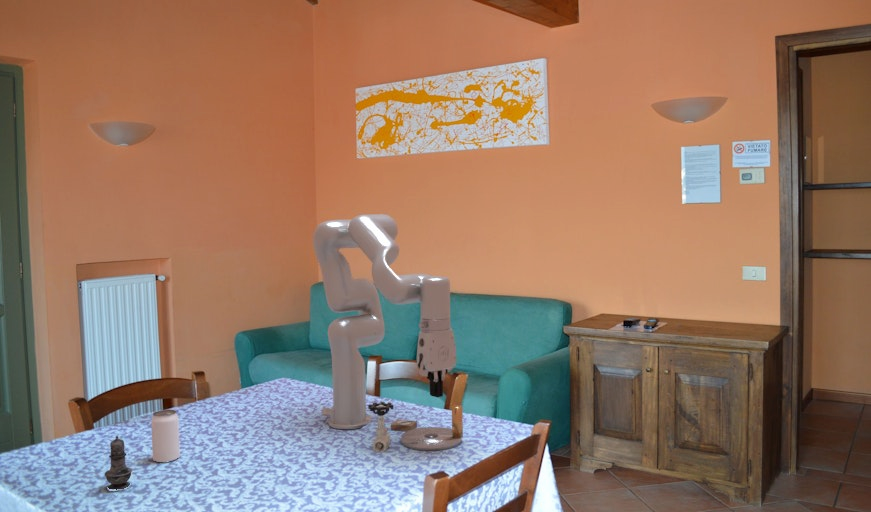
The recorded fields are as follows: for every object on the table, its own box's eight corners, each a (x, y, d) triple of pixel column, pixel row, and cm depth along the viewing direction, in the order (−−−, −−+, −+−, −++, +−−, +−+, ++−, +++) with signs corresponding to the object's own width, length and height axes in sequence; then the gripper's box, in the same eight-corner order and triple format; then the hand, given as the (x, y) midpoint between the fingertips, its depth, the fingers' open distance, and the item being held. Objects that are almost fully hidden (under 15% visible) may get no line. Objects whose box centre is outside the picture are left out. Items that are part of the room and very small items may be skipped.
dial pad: (391, 432, 201) (390, 423, 201) (397, 427, 206) (397, 418, 206) (411, 434, 199) (411, 425, 199) (417, 429, 204) (416, 420, 204)
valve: (396, 446, 189) (395, 401, 189) (392, 454, 183) (391, 408, 182) (371, 446, 190) (370, 401, 189) (366, 454, 183) (365, 408, 183)
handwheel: (437, 455, 179) (436, 418, 179) (388, 443, 189) (388, 408, 188) (473, 438, 192) (472, 404, 192) (426, 428, 202) (425, 395, 201)
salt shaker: (110, 482, 167) (108, 432, 166) (136, 481, 167) (134, 431, 166) (101, 492, 161) (98, 440, 160) (128, 491, 161) (125, 438, 160)
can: (185, 456, 185) (183, 410, 184) (168, 464, 178) (166, 416, 178) (164, 453, 187) (162, 408, 186) (147, 461, 181) (145, 415, 180)
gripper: (423, 330, 174) (424, 404, 175) (466, 323, 184) (467, 393, 186) (403, 326, 180) (404, 398, 181) (446, 320, 190) (447, 388, 191)
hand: (436, 395), depth 183 cm, fingers closed
